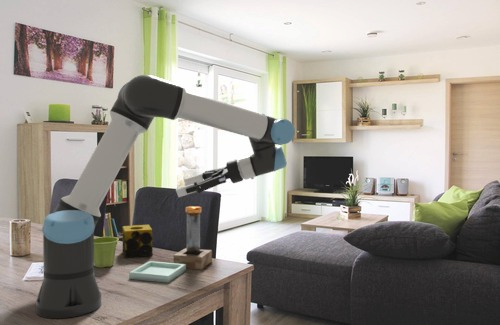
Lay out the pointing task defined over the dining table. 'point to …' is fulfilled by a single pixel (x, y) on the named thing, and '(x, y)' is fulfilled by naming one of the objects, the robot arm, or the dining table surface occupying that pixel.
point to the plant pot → (104, 251)
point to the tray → (157, 271)
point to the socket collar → (193, 259)
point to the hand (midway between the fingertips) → (181, 187)
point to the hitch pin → (193, 230)
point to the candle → (137, 241)
